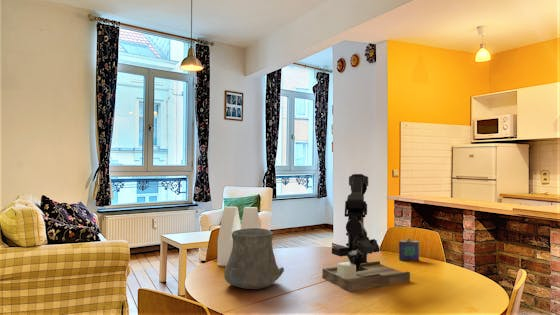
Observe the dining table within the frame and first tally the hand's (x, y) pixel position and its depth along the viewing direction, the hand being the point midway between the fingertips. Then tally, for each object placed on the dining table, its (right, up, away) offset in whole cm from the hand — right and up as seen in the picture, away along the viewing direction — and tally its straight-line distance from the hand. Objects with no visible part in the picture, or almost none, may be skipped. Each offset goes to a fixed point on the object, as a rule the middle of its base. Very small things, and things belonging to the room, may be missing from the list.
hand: (355, 271), depth 141 cm
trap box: (+4, -4, +2) cm, 6 cm away
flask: (+31, -5, +31) cm, 44 cm away
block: (-4, -1, -2) cm, 5 cm away
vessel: (-39, -4, -6) cm, 39 cm away
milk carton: (-48, -5, +30) cm, 56 cm away
